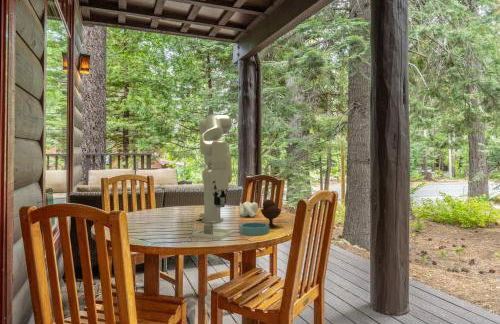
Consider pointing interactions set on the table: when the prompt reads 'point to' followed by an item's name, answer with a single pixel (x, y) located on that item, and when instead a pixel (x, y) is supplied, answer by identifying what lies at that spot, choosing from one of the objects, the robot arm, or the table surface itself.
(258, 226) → the bowl
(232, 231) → the parts tray
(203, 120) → the robot arm
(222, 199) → the stone
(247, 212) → the white lumpy chunk
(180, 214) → the table surface
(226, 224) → the table surface
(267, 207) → the ice cream bowl
